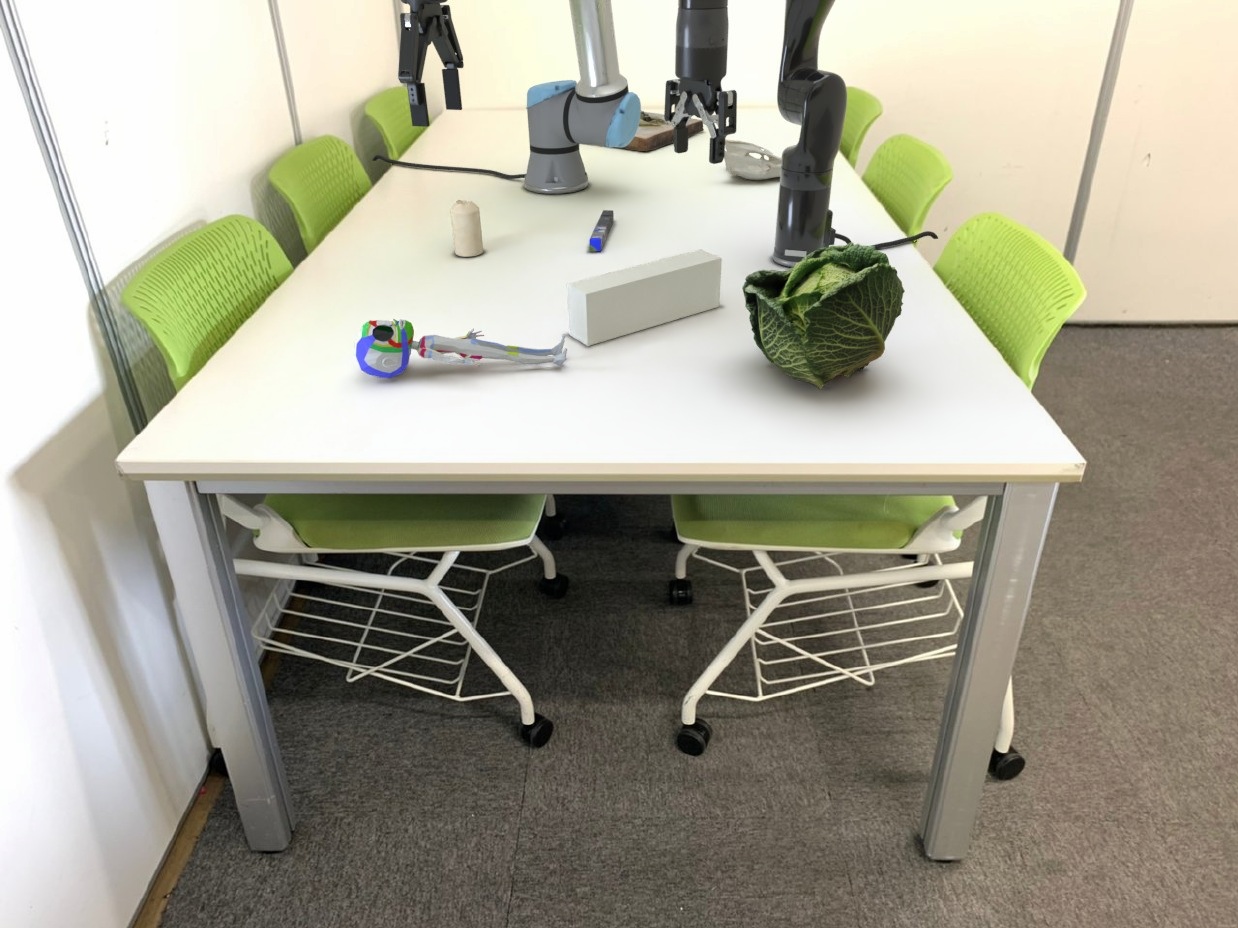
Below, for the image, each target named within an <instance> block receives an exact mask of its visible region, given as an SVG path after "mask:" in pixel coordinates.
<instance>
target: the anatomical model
mask: <svg viewBox="0 0 1238 928" xmlns="http://www.w3.org/2000/svg"><path fill="white" fill-rule="evenodd" d="M710 138H712V137H711V136H710ZM751 154H758V155H759V156H761V157H759V158H756V157H754V156H753V155H751ZM765 156H766V157H767V158H768V159H766V158H765ZM781 159H782V157H779V156H777V155H775V154H774V153H773V152H771V151H770V150H769V149H768V148H765V147H762V146H760V145H758V144H754V143H751V142H748V141H747V142H746V141H742V140H734V139H726V138H725V155H724V159H723V160H724V162H725V171H729V172H730V174H731V175H733V176H739V177H741V178H743V179H746V180H750V181H752V180H754V181H756V180H757V181H759V180H760V181H761V180H768V179H772V178H780V172H781Z"/></svg>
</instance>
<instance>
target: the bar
mask: <svg viewBox="0 0 1238 928" xmlns="http://www.w3.org/2000/svg"><path fill="white" fill-rule="evenodd" d="M722 259H723V258H722V257H720V256H718V255H716V254H713V253H711V252H709V251H706V250H703V249H701V248H700V249H697V250H693V251H689V252H684V253H680V254H678V255H673V256H669V257H665V258H661V259H657V260H654V261H650V262H646V263H642V264H639V265H634V266H630V267H627V268H622V269H618V270H615V271H611V272H607V273H603V274H599V275H595V276H591V277H588V278H584V279H579V280H576V281H572V282H567V283H566V296H567V317H568V335H569V336H570V337H572V338H573V339H575V340H577V341H578V342H580V343H581V344H583V345H585V346H587V347H590V346H593V345H596V344H600V343H604V342H606V341H610V340H613V339H617V338H619V337H623V336H627V335H629V334H633V333H637V332H640V331H643V330H647V329H650V328H653V327H657V326H660V325H663V324H667V323H670V322H673V321H676V320H679V319H683V318H687V317H690V316H694V315H696V314H700V313H703V312H707V311H709V310H713V309H716V308H719V307H720V303H721V302H720V301H721V282H722V279H721V278H722V261H723V260H722Z"/></svg>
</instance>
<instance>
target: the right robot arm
mask: <svg viewBox="0 0 1238 928" xmlns="http://www.w3.org/2000/svg"><path fill="white" fill-rule="evenodd" d="M835 3H836V0H785V5H784V6H785V7H784V21H783V22H784V25H783V39H782V48H781V49H782V50H781V57H780V65H779V72H778V81H777V91H776V96H777V97H776V100H777V101H776V102H777V103H776V104H777V108H778V111H779V114H780V115H781V117H782V118H783V119H784V120H786V121H787V122H789V123H791V124H794V125H797V126H800V132H799V138H798V142H797V143H796V144H793V145H790V146H787V147H785V149H783V151H782V154H781V158H782V159H781V172H780V177H779V184H778V185H779V186H778V199H777V212H776V223H775V224H776V225H775V234H774V235H775V236H774V247H773V253H772V259H773V261H774V262H775V263H777V264H779V265H781V266H785V267H789V268H792V267H794V266H795V265H796V263H799V262H800V261H801V260H802V259H803V258H804V257H805V256H807V255H808V254H810V253H812V252H814V251H816V250H818V249H819V248H825V247H829V246H835V241H836V239H838V240H841V241H843V242H845V244H846V245H847V244H848V243H850V242H852V240H851V239H850V238H849V237H848V236H846V235H844V234H841V233H837V232H836V231H837V229H835V228H834V227H833V226H832V225H833V216H834V213H833V211H832V210H831V209H830V203H831V202H830V201H831V192H832V182H833V174H834V165H835V161H836V157H837V155H838V153H839V151H840V149H841V144H842V139H843V132H844V125H845V120H846V115H847V108H848V107H847V106H848V90H847V84H846V82H845V80H844V79H843V77H842V76H841V75H839V74H837V73H835V72H831V71H827V70H822V69H819V46H820V40H821V39H820V38H821V34H822V30H823V28H824V26H825V23H826V20H827V18H828V17H829V15H830V12H831V10H832V9H833V7H834V4H835ZM677 6H678V7H677V15H676V21H675V22H676V23H675V56H674V57H675V58H674V61H675V63H674V66H675V67H674V74H675V76H676V78H674V79H668V80H666V81H665V91H664V94H665V95H664V112H663V113H664V114H663V115H664V119H665V121H670V122H671V125H672V127H674V142H673V151H674V153H676V154H683V153H687V152H688V150H689V137H688V128H689V127H686V125H687V124H688V123H689V121H690V119H691V118H693V116H695V117H696V118H697V119H700V120H702V122H703V125H704V126H706V127H707V130H708V133H709V135H710V137H709V151H708V152H709V153H708V163H710V164H713V165H716V164H721V163H723V161H724V160H725V159H724V155H725V151H726V148H725V139H726V138H727V136H730V135H734V134H736V133H737V121H738V118H737V117H738V116H737V115H738V113H737V112H738V110H737V109H738V92H737V90H735V89H731V90H723V88H722V80H723V79H724V78H725V77H726V76H727V72H728V71H727V70H728V47H729V29H730V28H729V26H730V25H729V7H728V6H729V0H677ZM673 106H674V111H673ZM727 120H728V125H727ZM716 125H717V126H716ZM717 127H718V128H717ZM711 137H712V138H711ZM925 237H930V238H932V239H934V240H938V239H939V236H938V235H937V233H935V232H933V231H930V230H929V231H928V230H926V231H923V232H919V233H916V234H915V235H912V236H908V237H903V238H899V239H896V240H891V241H886V242H881V243H875V244H872V245H870V246H875V249H876V250H879V249H883V248H890V247H894V246H898V245H903V244H906V243H910V242H914V241H917V240H920V239H922V238H925Z"/></svg>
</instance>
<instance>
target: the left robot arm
mask: <svg viewBox="0 0 1238 928" xmlns="http://www.w3.org/2000/svg"><path fill="white" fill-rule="evenodd" d="M400 2H401V3H402V4H405V5H408V6H409V12H401V13H400V14H399V18H400V19H399V20H400V21H399V22H400V43H399V56H398V57H399V60H398V71H397V72H398V73H397V79H398V81H399V83H400V84H406V88H407V95H408V103H409V111H410V117H411V126H412V127H425V128H428V127H430V117H429V109H428V100H427V93H426V84H425V82H422V79H423V75H424V74H423V73H424V68H425V63H426V58H427V54H428V53H427V52H428V47H429V46H430V45H431V44H432V45H433V46H434V49H435V50H436V53H437V55H438V57H439V59H440V61H441V63H442V66H443V68H442V69H441V75H442V84H443V94H444V102H445V110H446V111H447V110H448V111H462V110H463V103H462V93H461V84H460V75H459V74H460V73H459V69H464V65H465V64H464V55H463V52H462V49H461V45H460V43H459V38H458V35H457V33H456V32H457V31H456V28H455V25H454V22H453V18H452V12H451V6H450V5H449V4H444V3H446V2H448V0H400ZM568 4H569V12H570V17H571V24H572V31H573V37H574V44H575V51H576V56H577V64H578V71H579V78H580V80H579V81H576V80H575V79H574V80H573V79H566V80H565V79H564V80H555V81H549V82H544V83H539V84H535V85H532V86H531V87H530V88H529V89H528V90H527V92H526V107H525V108H526V113H527V127H528V140H529V141H528V142H529V157H528V162H527V168H526V172H525V173H519V174H507V173H503V172H500V171H497V170H492V169H484V168H475V167H474V168H473V167H463V166H462V167H461V166H448V165H434V164H423V163H415V162H414V163H413V162H407V161H401V160H396V159H392V158H387V157H385V156H384V155H382V154H376V155H374V157H373V158H372V161H373V162H376V161H377V160H379V159H380V160H382V161H384V162H386V163H388V164H393V165H399V166H404V167H409V168H410V167H411V168H417V169H418V168H419V169H428V170H438V171H439V170H440V171H454V172H455V171H456V172H466V173H467V172H468V173H479V174H488V175H492V176H497V177H500V178H503V179H510V180H517V179H524V180H523V183H524V188H525V189H526V190H527V191H530V192H531V193H535V194H536V193H537V194H543V195H544V194H545V195H562V194H570V193H576V192H579V191H583V190H584V189H586V188H587V187H589V175H588V173H587V171H586V168H585V164H584V161H583V158H582V156H581V153H580V145H587V146H596V147H605V148H607V149H612V148H619V147H625V146H627V145H628V144H629V143H630V142H631V141H632V140H633V138H634V136H635V134H636V132H637V129H638V126H639V122H640V116H641V110H642V105H641V99H640V97H639V95H638V94H636V93H634V92H633V91H629V82H628V80H627V78H626V77H625V76H624V75H623V74H621V73H620V65H619V57H618V48H617V41H616V40H617V39H616V30H615V23H614V15H613V14H614V13H613V5H612V0H568Z"/></svg>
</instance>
